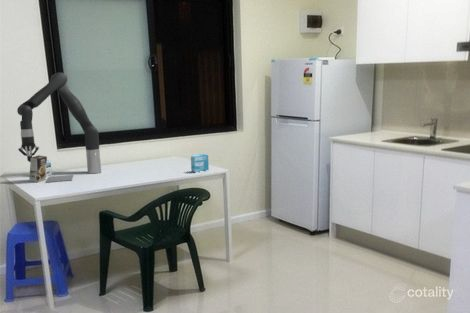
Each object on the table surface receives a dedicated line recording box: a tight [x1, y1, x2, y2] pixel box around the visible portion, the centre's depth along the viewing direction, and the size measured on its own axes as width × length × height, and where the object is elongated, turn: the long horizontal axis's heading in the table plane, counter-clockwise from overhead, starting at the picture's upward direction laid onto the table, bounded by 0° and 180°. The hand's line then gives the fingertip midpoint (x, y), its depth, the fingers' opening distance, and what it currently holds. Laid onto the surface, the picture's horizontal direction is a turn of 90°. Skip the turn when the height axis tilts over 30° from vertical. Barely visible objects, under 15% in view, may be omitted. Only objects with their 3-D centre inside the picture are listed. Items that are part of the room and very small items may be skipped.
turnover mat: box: [45, 174, 74, 184], centre depth 296 cm, size 16×16×1 cm
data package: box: [190, 153, 210, 173], centre depth 312 cm, size 12×4×12 cm, turn 126°
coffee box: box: [29, 154, 48, 183], centre depth 291 cm, size 9×6×16 cm
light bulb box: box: [46, 159, 53, 177], centre depth 309 cm, size 11×7×11 cm, turn 74°
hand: (30, 161), depth 289 cm, fingers closed
